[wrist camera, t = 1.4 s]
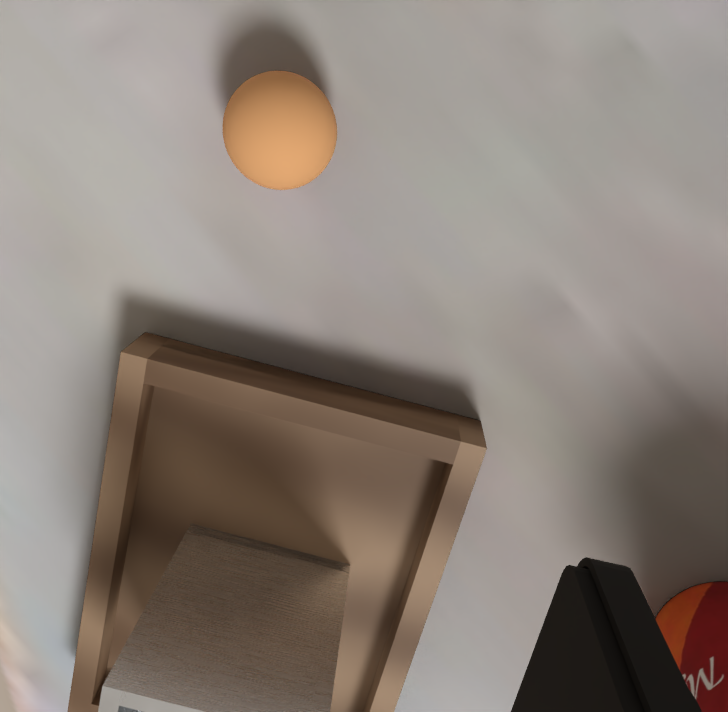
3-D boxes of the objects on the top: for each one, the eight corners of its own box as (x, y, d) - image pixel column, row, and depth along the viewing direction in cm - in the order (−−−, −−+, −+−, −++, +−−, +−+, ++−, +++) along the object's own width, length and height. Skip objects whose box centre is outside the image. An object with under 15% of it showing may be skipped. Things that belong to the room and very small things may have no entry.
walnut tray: (145, 332, 28) (120, 351, 26) (480, 420, 28) (486, 448, 26) (91, 673, 34) (67, 715, 32) (369, 744, 34) (365, 790, 32)
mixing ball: (249, 61, 25) (221, 51, 21) (353, 90, 25) (343, 85, 21) (228, 169, 26) (199, 177, 22) (328, 196, 26) (314, 209, 22)
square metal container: (191, 523, 30) (102, 685, 21) (350, 564, 30) (325, 742, 21) (165, 650, 32) (76, 843, 23) (313, 688, 32) (277, 893, 24)
